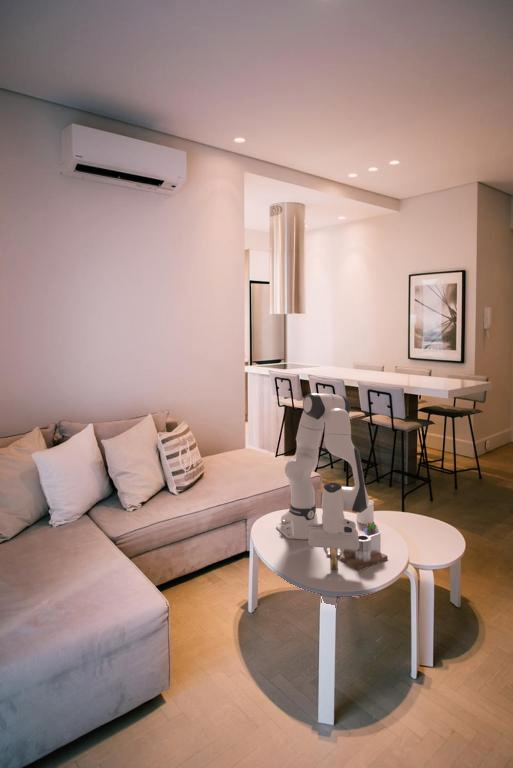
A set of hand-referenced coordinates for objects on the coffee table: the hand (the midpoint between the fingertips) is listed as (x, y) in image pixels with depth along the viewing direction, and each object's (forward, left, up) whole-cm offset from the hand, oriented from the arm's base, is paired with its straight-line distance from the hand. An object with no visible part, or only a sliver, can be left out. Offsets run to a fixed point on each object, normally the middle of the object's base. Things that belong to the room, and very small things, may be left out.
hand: (333, 557), depth 187 cm
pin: (0, 0, -4) cm, 4 cm away
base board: (0, +15, -4) cm, 16 cm away
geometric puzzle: (-12, +33, -5) cm, 35 cm away
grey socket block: (0, +16, -3) cm, 16 cm away
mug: (-29, +45, -5) cm, 54 cm away
